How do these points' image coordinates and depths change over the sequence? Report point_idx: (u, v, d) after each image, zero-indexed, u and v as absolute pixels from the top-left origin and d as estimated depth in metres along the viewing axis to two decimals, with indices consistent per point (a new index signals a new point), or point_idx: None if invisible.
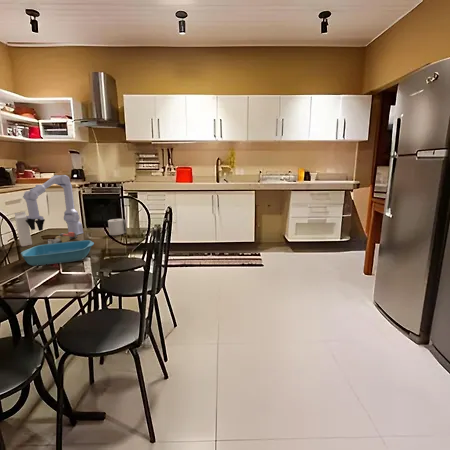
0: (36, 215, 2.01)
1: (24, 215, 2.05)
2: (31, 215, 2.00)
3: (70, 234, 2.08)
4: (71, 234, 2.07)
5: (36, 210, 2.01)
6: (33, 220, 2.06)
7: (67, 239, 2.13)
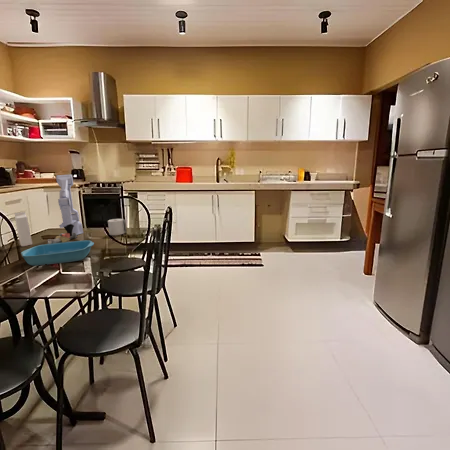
0: (64, 222, 2.03)
1: (24, 215, 2.05)
2: None
3: (66, 235, 2.05)
4: (66, 235, 2.05)
5: (64, 217, 2.02)
6: None
7: (67, 239, 2.13)
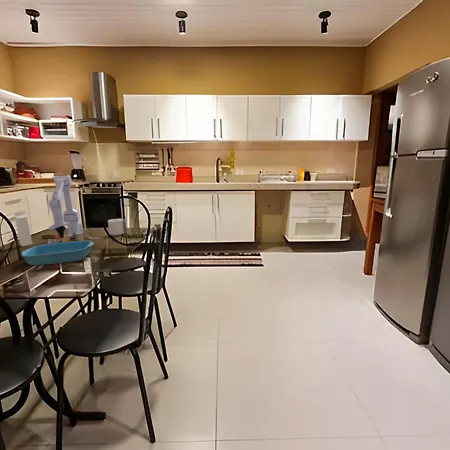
0: (55, 224, 2.00)
1: (24, 215, 2.05)
2: None
3: None
4: None
5: (55, 219, 1.99)
6: None
7: (67, 239, 2.13)
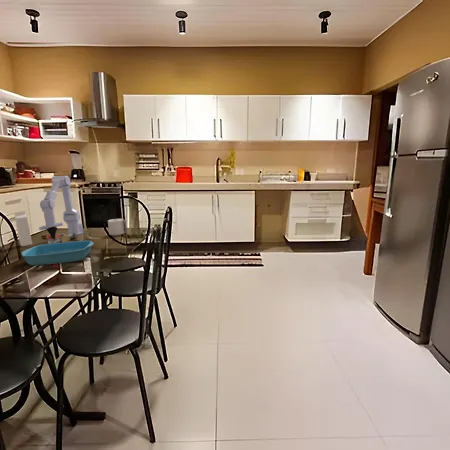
0: (46, 224, 1.99)
1: (24, 215, 2.05)
2: None
3: None
4: None
5: (46, 219, 1.98)
6: None
7: (67, 239, 2.13)
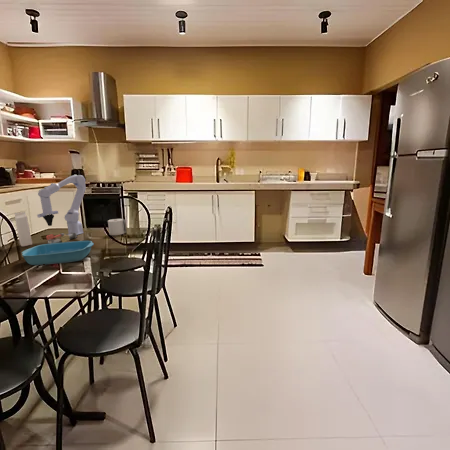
0: (43, 212, 2.13)
1: (24, 215, 2.05)
2: None
3: None
4: None
5: (43, 207, 2.12)
6: None
7: (67, 239, 2.13)
